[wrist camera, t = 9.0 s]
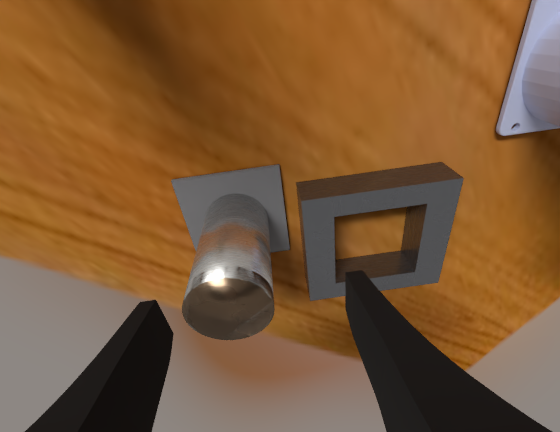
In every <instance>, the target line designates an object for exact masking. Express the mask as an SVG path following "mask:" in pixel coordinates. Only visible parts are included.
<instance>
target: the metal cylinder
mask: <svg viewBox="0 0 560 432" xmlns="http://www.w3.org/2000/svg"><path fill="white" fill-rule="evenodd" d="M182 313H183V316H184V318H185V320H186V322H187V323H188V324H189V326H190V327H191V328H193V329H194V330H195V331H197V332H199V333H200V334H202V335H205V336H207V337H211V338H215V339H221V340H236V339H242V338H246V337H249V336H252V335H255V334H257V333H258V332H260V331H262V330H263V329H264V328H265V327H266V326H267V325H268V324H269V323H270V321H271V320H272V318H273V315H274V297H273V283H272V268H271V254H270V240H269V225H268V215H267V212H266V210H265V208H264V207H263V205H262V204H261V203H260V202H259V201H257V200H256V199H254V198H252V197H250V196H248V195H244V194H228V195H224V196H222V197H220V198H218V199H216V200H215V201H214V202H213V203H212V204H211V205H210V206H209V208H208V210H207V212H206V216H205V220H204V224H203V228H202V231H201V235H200V239H199V243H198V247H197V251H196V255H195V258H194V262H193V266H192V270H191V274H190V278H189V282H188V285H187V289H186V293H185V297H184V301H183V305H182Z"/></svg>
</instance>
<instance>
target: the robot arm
mask: <svg viewBox="0 0 560 432" xmlns="http://www.w3.org/2000/svg"><path fill="white" fill-rule="evenodd" d="M514 124H515V126H514V127H513V128H512V126H513V125H514ZM511 128H512V129H511ZM557 128H560V0H532V2H531V6H530V9H529V13H528V16H527V20H526V24H525V27H524V31H523V34H522V38H521V41H520V45H519V48H518V52H517V56H516V59H515V63H514V66H513V70H512V73H511V77H510V80H509V84H508V88H507V91H506V95H505V98H504V102H503V105H502V109H501V112H500V116H499V120H498V123H497V127H496V132H497V133H498V134H500V135H502V136H507V135H515V134H522V133H529V132H536V131H543V130H550V129H557ZM345 291H346V312H347V316H348V320H349V323H350V327H351V331H352V335H353V337H354V340H355V343H356V345H357V348H358V351H359V353H360V356H361V358H362V361H363V364H364V366H365V369H366V371H367V374H368V377H369V379H370V382H371V384H372V387H373V390H374V393H375V395H376V398H377V401H378V404H379V407H380V410H381V414H382V417H383V421H384V424H385V428H386V431H387V432H552V431H550V430H549V429H547V428H546V427H544V426H542V425H541V424H539V423H537V422H536V421H534V420H533V419H531V418H530V417H528V416H527V415H525V414H524V413H522V412H521V411H520V410H518V409H516V408H515V407H513V406H512V405H511V404H509V403H508V402H506V401H505V400H503V399H502V398H501V397H499V396H498V395H496V394H495V393H494V392H492V391H491V390H490V389H488V388H487V387H485V386H484V385H483V384H481V383H480V382H478V381H477V380H476V379H474V378H473V377H472V376H470V375H469V374H468V373H466V372H465V371H464V370H463V369H461V368H460V367H459V366H458V365H456V364H455V363H454V362H453V361H451V360H450V359H449V358H448V357H447V356H445V355H444V354H443V353H442V352H441V351H439V350H438V349H437V348H436V347H435V346H434V345H433V344H431V343H430V342H429V341H428V340H427V339H426V338H425V337H424V336H423V335H422V334H421V333H420V332H418V331H417V330H416V329H415V328H414V327H413V326H412V325H411V324H410V323H409V322H408V321H407V320H406V319H405V318H404V317H403V316H402V315H401V314H400V313H399V312H398V311H397V309H396V308H395V307H394V306H393V305H392V304H391V303H390V302H389V301H388V300H387V299H386V298H385V296H384V295H383V294H382V293H381V292H380V291H379V290H378V288H377V287H376V286H375V285H374V284H373V282H372V281H371V280H370V279H369V277H368V276H367V275H366V274H365V272H364V271H362V270H358V271H352V272H345ZM172 341H173V332H172V330H171V328H170V326H169V324H168V322H167V320H166V318H165V316H164V314H163V312H162V311H161V309H160V307H159V305H158V303H157V301H156V300H152V301H145V302H140V303H139V304H138V305H137V307H136V308H135V309H134V310H133V311H132V313H131V314H130V315H129V317H128V318H127V319H126V320H125V322H124V323H123V324H122V325H121V327H120V328H119V329H118V330H117V332H116V333H115V334H114V335H113V337H112V338H111V339H110V340H109V342H108V343H107V344H106V345H105V346H104V348H103V349H102V350H101V351H100V353H99V354H98V355H97V356H96V357H95V359H94V360H93V361H92V362H91V363H90V364H89V365H88V366H87V368H86V369H85V370H84V371H83V372H82V373H81V375H80V376H79V377H78V378H77V379H76V380H75V381H74V382H73V384H72V385H71V386H70V387H69V388H68V389H67V390H66V391H65V392H64V393H63V394H62V395H61V396H60V397H59V399H58V400H57V401H56V402H55V403H54V404H53V405H52V406H51V407H50V408H49V409H48V410H47V411H46V412H45V413H44V414H43V415H42V416H41V417H40V418H39V419H38V420H37V421H36V422H35V423H34V424H32V425H31V426H30V427H29V428H28V429H27V430H26V431H25V432H152V427H153V423H154V419H155V416H156V412H157V408H158V404H159V401H160V397H161V392H162V389H163V385H164V382H165V378H166V374H167V370H168V366H169V362H170V356H171V349H172Z"/></svg>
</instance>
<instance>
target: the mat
mask: <svg viewBox="0 0 560 432" xmlns="http://www.w3.org/2000/svg"><path fill="white" fill-rule="evenodd" d="M171 182H172V185H173V188H174V190H175V193H176V196H177V199H178V202H179V205H180V207H181V210H182V213H183V216H184V219H185V222H186V224H187V227H188V230H189V233H190V236H191V239H192V241H193V244H194V247H195V250H196V251H197V247H198V243H199V239H200V235H201V231H202V228H203V224H204V220H205V216H206V212H207V210H208V208H209V206H210V205H211V204H212V203H213V202H214V201H215V200H216V199H218V198H220V197H222V196H224V195H228V194H244V195H248V196H250V197H252V198H254V199H256V200H257V201H259V202H260V203H261V204H262V205H263V207H264V208H265V210H266V212H267V215H268V225H269V240H270V253H271V252H278V251H285V250H290V246H289V238H288V230H287V223H286V215H285V207H284V199H283V191H282V184H281V176H280V168H279V164H278V165H271V166H264V167H257V168H250V169H243V170H235V171H228V172H221V173H214V174H207V175H200V176H193V177H186V178H179V179H172V181H171Z"/></svg>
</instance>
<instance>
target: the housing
mask: <svg viewBox="0 0 560 432" xmlns="http://www.w3.org/2000/svg"><path fill="white" fill-rule="evenodd" d="M463 179H464V178H463V177H462V176H460V175H459V174H457V173H456V172H455V171H453V170H452V169H451V168H449V167H448V166H447V165H445V164H444V163H443V162H438V163H431V164H424V165H417V166H410V167H403V168H396V169H389V170H382V171H375V172H368V173H361V174H354V175H347V176H340V177H333V178H326V179H319V180H312V181H304V182H297V183H296V186H297V197H298V207H299V217H300V227H301V238H302V248H303V258H304V268H305V278H306V283H307V288H308V292H309V297H310V301H312V300H319V299H326V298H333V297H340V296H346V291H345V272H352V271H358V270H362V271H364V272H365V274H366V275H367V276H368V277H369V279H370V280H371V281H372V282H373V284H374V285H375V286H376V287H377V288H378V290H379V291H382V290H389V289H396V288H403V287H410V286H417V285H424V284H431V283H438V281H439V277H440V273H441V269H442V265H443V261H444V257H445V252H446V248H447V244H448V240H449V236H450V232H451V228H452V224H453V220H454V215H455V211H456V207H457V203H458V199H459V195H460V191H461V187H462V183H463ZM400 207H407V212H406V219H405V226H404V234H403V241H402V248H401V251H395V252H388V253H381V254H374V255H367V256H360V257H353V258H346V259H339V260H335V232H334V217H337V216H344V215H351V214H358V213H365V212H372V211H379V210H386V209H393V208H400Z"/></svg>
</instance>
